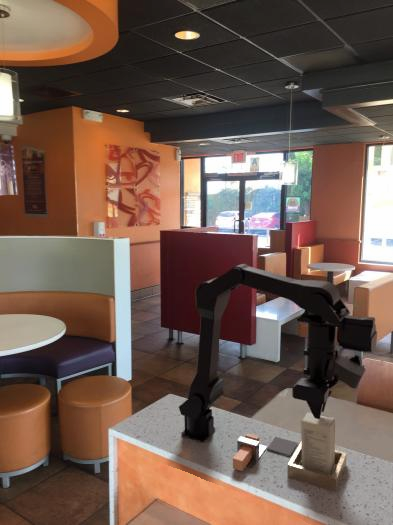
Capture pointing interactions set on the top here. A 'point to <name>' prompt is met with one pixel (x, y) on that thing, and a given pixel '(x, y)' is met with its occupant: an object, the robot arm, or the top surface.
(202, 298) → the robot arm
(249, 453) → the lock bar
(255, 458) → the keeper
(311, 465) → the skincare box
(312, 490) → the top surface
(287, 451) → the coaster
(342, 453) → the open wooden box
